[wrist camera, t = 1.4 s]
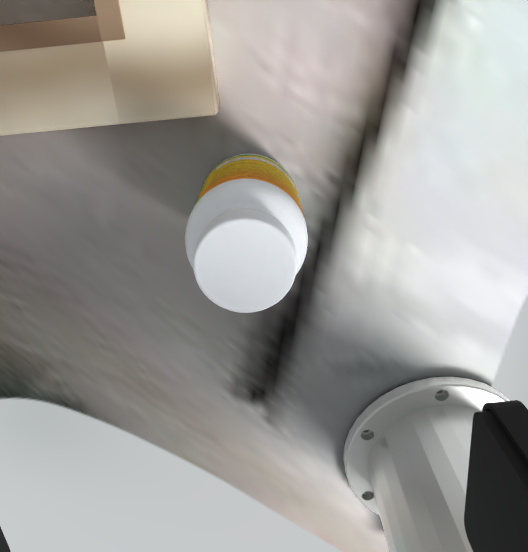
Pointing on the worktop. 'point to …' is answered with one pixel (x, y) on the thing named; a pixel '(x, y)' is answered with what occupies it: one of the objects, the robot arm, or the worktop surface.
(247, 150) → the worktop surface
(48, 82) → the socket board
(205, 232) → the supplement bottle
